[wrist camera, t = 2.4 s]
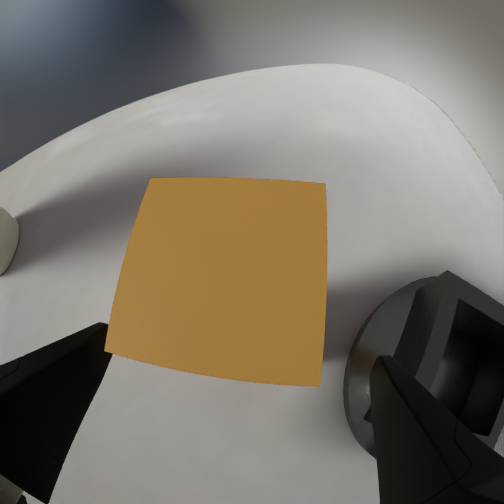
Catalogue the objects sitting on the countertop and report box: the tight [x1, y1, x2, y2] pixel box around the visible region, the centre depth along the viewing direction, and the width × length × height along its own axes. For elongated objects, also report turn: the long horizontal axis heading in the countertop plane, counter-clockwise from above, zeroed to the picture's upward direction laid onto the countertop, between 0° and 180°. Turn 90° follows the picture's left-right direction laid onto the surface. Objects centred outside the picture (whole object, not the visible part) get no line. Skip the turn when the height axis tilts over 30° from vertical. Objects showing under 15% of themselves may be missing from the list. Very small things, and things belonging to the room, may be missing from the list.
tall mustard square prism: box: [104, 177, 327, 387], centre depth 11 cm, size 4×4×13 cm
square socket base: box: [343, 270, 504, 459], centre depth 12 cm, size 14×14×6 cm
